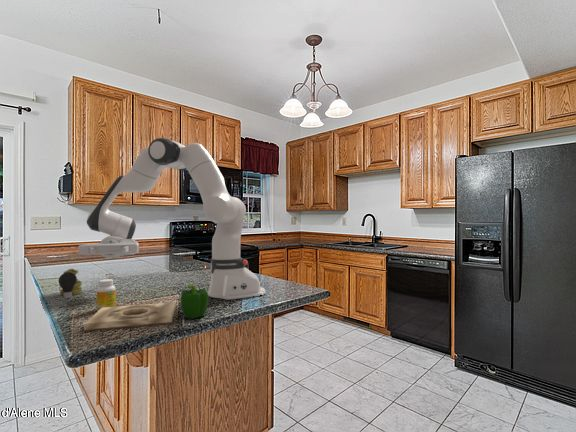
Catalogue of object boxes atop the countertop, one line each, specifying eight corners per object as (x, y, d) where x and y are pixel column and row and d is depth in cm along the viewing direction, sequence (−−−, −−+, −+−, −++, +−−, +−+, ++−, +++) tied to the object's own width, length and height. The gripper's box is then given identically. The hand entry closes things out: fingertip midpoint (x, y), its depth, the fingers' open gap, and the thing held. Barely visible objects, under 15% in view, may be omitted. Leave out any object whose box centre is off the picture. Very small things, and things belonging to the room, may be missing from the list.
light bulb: (64, 297, 121) (64, 271, 121) (79, 296, 122) (79, 270, 122) (55, 301, 115) (55, 273, 116) (71, 300, 116) (71, 273, 116)
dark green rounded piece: (54, 295, 124) (54, 270, 124) (71, 291, 131) (71, 267, 131) (69, 296, 122) (69, 270, 122) (86, 292, 129) (86, 267, 129)
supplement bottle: (107, 312, 101) (107, 282, 101) (92, 311, 102) (92, 281, 102) (119, 307, 106) (119, 279, 106) (105, 307, 107) (105, 278, 107)
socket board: (175, 308, 105) (175, 302, 105) (171, 323, 90) (171, 316, 90) (101, 313, 99) (101, 307, 99) (84, 331, 84) (84, 323, 84)
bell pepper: (197, 310, 102) (197, 280, 102) (213, 315, 97) (213, 283, 97) (174, 317, 96) (174, 284, 96) (189, 322, 91) (189, 288, 91)
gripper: (80, 240, 123) (74, 242, 111) (138, 238, 132) (139, 241, 120) (80, 256, 123) (74, 260, 111) (138, 253, 132) (138, 257, 120)
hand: (108, 250), depth 115 cm, fingers open, 8 cm apart
